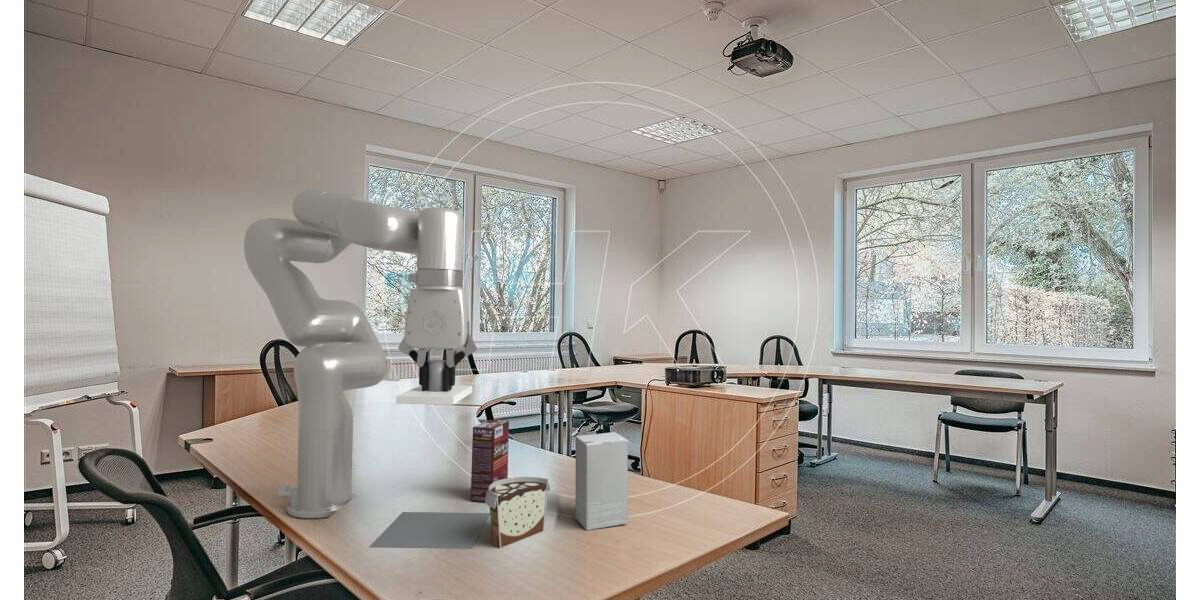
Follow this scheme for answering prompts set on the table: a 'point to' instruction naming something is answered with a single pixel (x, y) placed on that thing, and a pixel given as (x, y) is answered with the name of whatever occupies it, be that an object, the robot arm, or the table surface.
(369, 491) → the table surface
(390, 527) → the mat
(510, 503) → the food container
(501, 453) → the supplement box
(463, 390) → the lid
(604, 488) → the skincare box
